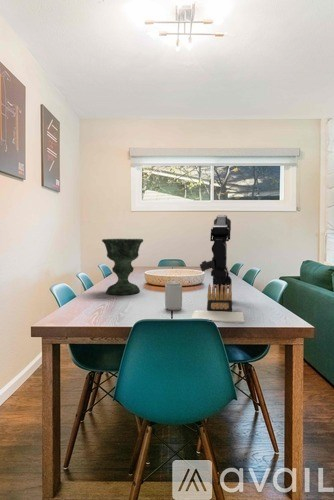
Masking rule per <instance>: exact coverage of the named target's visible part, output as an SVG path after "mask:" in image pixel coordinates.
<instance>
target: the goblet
mask: <svg viewBox="0 0 334 500" xmlns="http://www.w3.org/2000/svg"><path fill="white" fill-rule="evenodd" d="M101 242H102V243H103V244H104V247H105V249H106V257H107V258H108V259H109V260H110V261H113V263H114V265H113V267H112V273H114V274H115V275H116V276H117V281H116V282H115V283H114V284H111V285H109V286H108V287H107V288H106V291H105V293H106V294H107V295H113V296H127V295H133V294H137V293H140V292H141V290H140V288H139V286H138V285H136V284H134V283H132V282H131V281H129V277H130V274H132V273H133V272H134V267H133V265H132V262H133V261H135V260H136V259H138V258H139V255H140V254H139V251H140V247H141V244H142V243H143V242H144V239H143V238H103V239H102V240H101Z"/></svg>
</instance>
